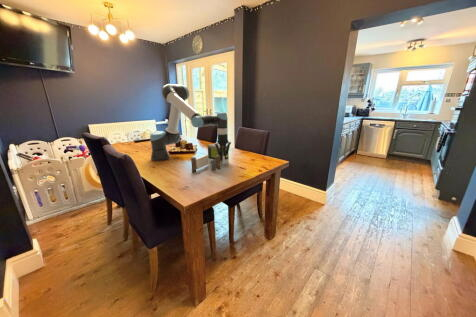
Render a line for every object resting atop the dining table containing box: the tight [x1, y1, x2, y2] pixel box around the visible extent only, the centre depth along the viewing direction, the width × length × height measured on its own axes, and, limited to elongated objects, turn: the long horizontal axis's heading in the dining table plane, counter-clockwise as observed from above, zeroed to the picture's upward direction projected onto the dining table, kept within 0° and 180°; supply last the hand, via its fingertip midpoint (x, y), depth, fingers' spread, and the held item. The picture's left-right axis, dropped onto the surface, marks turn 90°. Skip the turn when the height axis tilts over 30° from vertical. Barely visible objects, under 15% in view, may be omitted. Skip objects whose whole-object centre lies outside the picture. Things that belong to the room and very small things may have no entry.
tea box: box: [207, 143, 230, 166], centre depth 157 cm, size 15×10×15 cm, turn 48°
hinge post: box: [190, 156, 197, 174], centre depth 136 cm, size 4×4×11 cm
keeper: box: [210, 159, 217, 171], centre depth 140 cm, size 1×3×8 cm, turn 113°
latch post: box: [215, 155, 222, 170], centre depth 143 cm, size 3×3×10 cm
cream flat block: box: [196, 154, 210, 170], centre depth 144 cm, size 14×2×8 cm, turn 151°
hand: (223, 163), depth 150 cm, fingers closed
